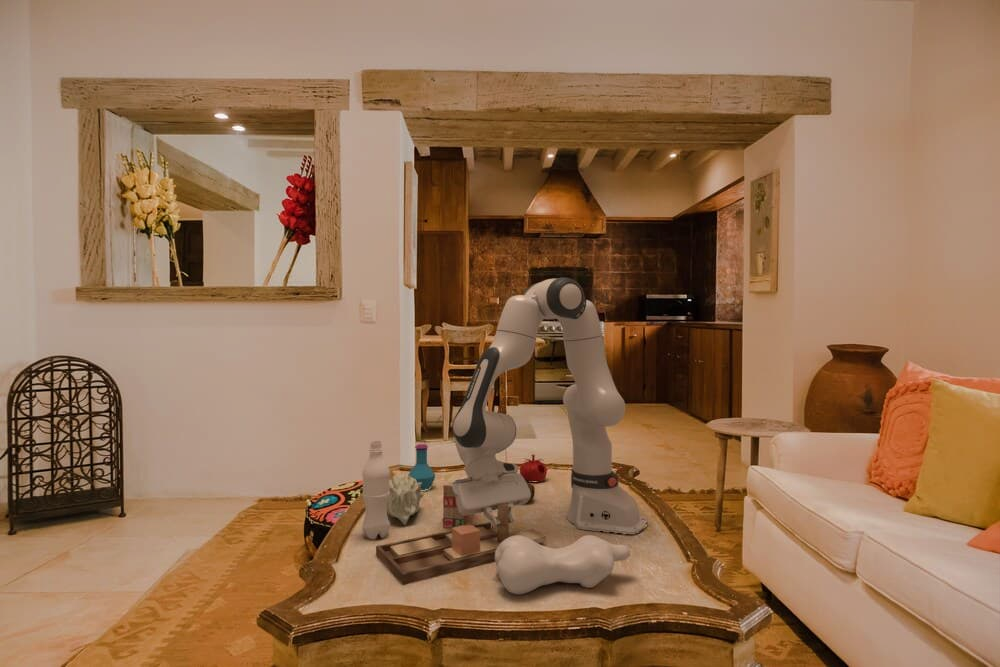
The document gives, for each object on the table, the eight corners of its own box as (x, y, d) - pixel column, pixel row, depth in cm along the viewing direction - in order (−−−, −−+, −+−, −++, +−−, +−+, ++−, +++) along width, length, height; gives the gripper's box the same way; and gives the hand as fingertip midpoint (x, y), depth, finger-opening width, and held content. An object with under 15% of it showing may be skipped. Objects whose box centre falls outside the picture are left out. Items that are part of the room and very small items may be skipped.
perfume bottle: (433, 492, 184) (433, 448, 184) (405, 492, 185) (405, 448, 184) (436, 484, 194) (436, 442, 193) (410, 484, 194) (410, 442, 194)
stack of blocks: (460, 503, 174) (460, 464, 174) (480, 505, 173) (480, 465, 172) (442, 528, 153) (442, 484, 152) (465, 530, 152) (465, 485, 151)
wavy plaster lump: (393, 534, 166) (383, 483, 172) (435, 522, 166) (424, 471, 172) (377, 530, 149) (367, 474, 155) (424, 517, 150) (412, 461, 156)
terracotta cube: (470, 544, 136) (470, 523, 136) (480, 551, 131) (480, 530, 131) (451, 548, 133) (451, 527, 133) (461, 555, 129) (461, 534, 129)
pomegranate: (518, 484, 196) (517, 458, 195) (521, 476, 206) (521, 451, 205) (546, 485, 194) (545, 458, 194) (548, 476, 204) (547, 451, 204)
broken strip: (482, 530, 148) (482, 526, 148) (493, 538, 143) (493, 533, 143) (389, 551, 135) (389, 546, 135) (398, 560, 130) (398, 555, 130)
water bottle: (366, 543, 142) (365, 446, 142) (359, 533, 148) (359, 441, 148) (393, 538, 145) (393, 443, 145) (385, 529, 152) (385, 438, 151)
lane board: (489, 529, 151) (489, 521, 151) (526, 553, 136) (526, 544, 136) (376, 554, 135) (376, 545, 135) (403, 584, 119) (403, 574, 119)
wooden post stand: (532, 533, 146) (532, 494, 146) (545, 541, 141) (546, 501, 141) (443, 554, 133) (443, 512, 132) (454, 563, 127) (454, 519, 127)
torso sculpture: (503, 612, 112) (644, 589, 115) (498, 560, 112) (640, 539, 115) (495, 577, 128) (620, 558, 131) (490, 531, 128) (616, 513, 131)
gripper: (453, 474, 138) (471, 525, 130) (521, 463, 149) (542, 510, 140) (445, 487, 142) (463, 538, 134) (512, 476, 152) (532, 522, 144)
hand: (504, 523), depth 137 cm, fingers closed on wooden post stand, 3 cm apart
